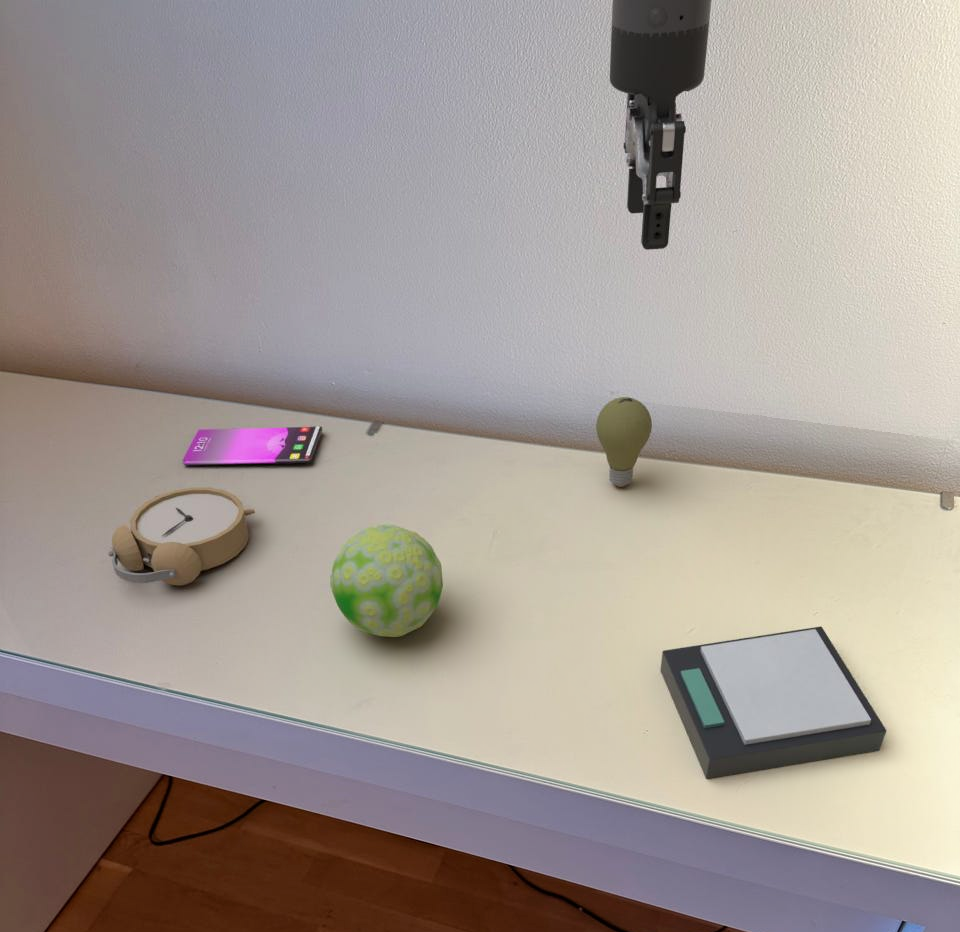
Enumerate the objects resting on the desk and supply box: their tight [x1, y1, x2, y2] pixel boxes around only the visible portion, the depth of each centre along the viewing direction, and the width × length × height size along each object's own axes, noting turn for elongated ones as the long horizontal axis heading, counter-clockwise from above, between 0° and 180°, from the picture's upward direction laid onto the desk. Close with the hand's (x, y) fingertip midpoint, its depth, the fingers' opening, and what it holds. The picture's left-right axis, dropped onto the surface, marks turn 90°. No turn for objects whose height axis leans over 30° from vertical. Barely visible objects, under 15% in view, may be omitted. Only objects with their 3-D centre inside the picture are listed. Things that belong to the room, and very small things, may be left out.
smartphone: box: [181, 426, 323, 466], centre depth 111 cm, size 7×15×1 cm, turn 86°
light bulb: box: [595, 396, 653, 488], centre depth 99 cm, size 6×6×10 cm
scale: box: [660, 626, 887, 780], centre depth 77 cm, size 14×12×3 cm
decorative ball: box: [329, 524, 444, 638], centre depth 85 cm, size 10×10×10 cm
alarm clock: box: [107, 487, 256, 586], centre depth 96 cm, size 11×5×15 cm
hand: (646, 228), depth 86 cm, fingers open, 8 cm apart
